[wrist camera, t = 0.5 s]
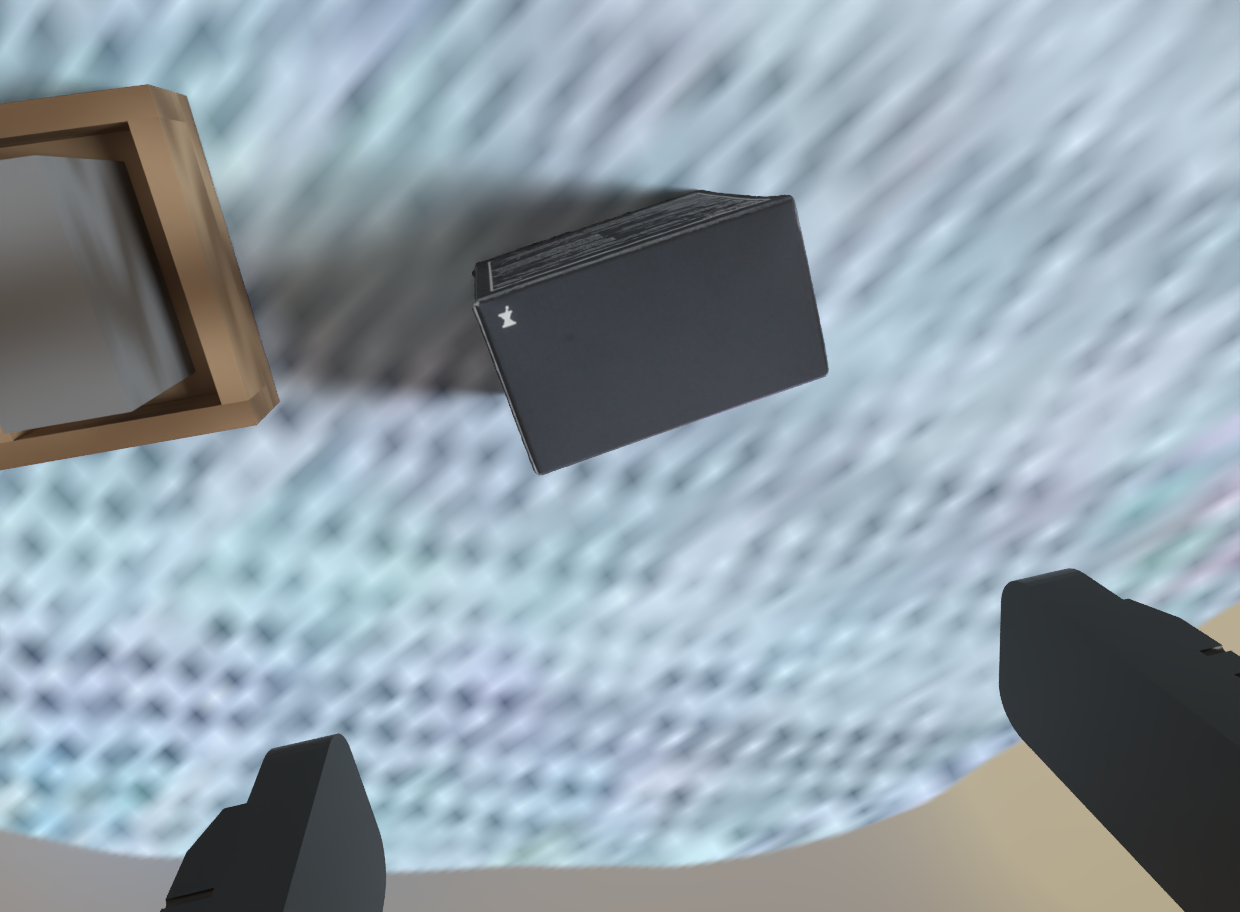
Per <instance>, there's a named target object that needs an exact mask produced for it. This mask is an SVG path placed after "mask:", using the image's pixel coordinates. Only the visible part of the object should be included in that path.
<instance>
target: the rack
mask: <svg viewBox="0 0 1240 912" xmlns="http://www.w3.org/2000/svg"><path fill="white" fill-rule="evenodd" d="M279 402H280V401H279V398H278V394H277V391H276V388H275V385H274V381H273V378H272V375H271V371H270V368H269V365H268V362H267V358H266V355H265V352H264V348H263V345H262V342H261V339H260V335H259V332H258V329H257V325H256V322H255V319H254V316H253V312H252V309H251V306H250V303H249V299H248V296H247V293H246V289H245V286H244V283H243V280H242V276H241V273H240V270H239V266H238V263H237V260H236V257H235V253H234V250H233V247H232V243H231V240H230V237H229V234H228V230H227V227H226V224H225V221H224V217H223V214H222V211H221V207H220V204H219V201H218V198H217V194H216V191H215V188H214V184H213V181H212V178H211V175H210V171H209V168H208V165H207V162H206V158H205V155H204V152H203V148H202V145H201V142H200V139H199V135H198V132H197V129H196V125H195V122H194V119H193V116H192V112H191V109H190V106H189V102H188V99H187V96H185V95H182V94H178V93H175V92H172V91H168V90H165V89H162V88H159V87H155V86H152V85H149V84H147V85H139V86H132V87H124V88H117V89H109V90H101V91H94V92H86V93H79V94H71V95H64V96H56V97H49V98H41V99H33V100H26V101H18V102H11V103H3V104H0V470H4V469H10V468H16V467H21V466H27V465H33V464H38V463H44V462H50V461H55V460H61V459H67V458H72V457H78V456H84V455H90V454H95V453H101V452H107V451H112V450H118V449H124V448H129V447H135V446H141V445H146V444H152V443H158V442H163V441H169V440H175V439H180V438H186V437H192V436H197V435H203V434H209V433H214V432H220V431H226V430H231V429H237V428H243V427H248V426H254V425H257V424H258V423H259V422H260V421H261V420H262V419H263V418H264V417H265V416H266V415H267V414H268V413H269V412H270V411H271V410H272V409H273V408H274V407H275V406H276V405H277V404H278V403H279Z"/></svg>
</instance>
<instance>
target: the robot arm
mask: <svg viewBox="0 0 1240 912" xmlns="http://www.w3.org/2000/svg"><path fill="white" fill-rule="evenodd" d="M999 690H1000V696H1001V700H1002V704H1003V707H1004V710H1005V712H1006V714H1007V717H1008V719H1009V721H1010V723H1011V724H1012V726H1013V728H1014V729H1015V731H1016V732H1017V733H1018V735H1019V736H1020V737H1021V738H1022V740H1023V741H1024V742H1025V743H1026V744H1027V745H1028V746H1029V747H1030V748H1031V749H1032V750H1033V751H1034V752H1035V753H1036V754H1037V755H1038V757H1039V758H1040V759H1041V760H1042V761H1043V762H1044V763H1045V764H1046V765H1047V766H1048V767H1049V768H1050V769H1051V770H1052V771H1053V772H1054V773H1055V775H1056V776H1057V777H1058V778H1059V779H1060V780H1061V781H1062V782H1063V783H1064V784H1065V785H1066V786H1067V787H1068V788H1069V789H1070V790H1071V792H1072V793H1073V794H1074V795H1075V796H1076V797H1077V798H1078V799H1079V800H1080V801H1081V802H1082V803H1083V804H1084V805H1085V806H1086V808H1087V809H1088V810H1089V811H1090V812H1091V813H1092V814H1093V815H1094V816H1095V817H1096V818H1097V819H1098V820H1099V821H1100V822H1101V823H1102V825H1103V826H1104V827H1105V828H1106V829H1107V830H1108V831H1109V832H1110V833H1111V834H1112V835H1113V836H1114V837H1115V838H1116V839H1117V840H1118V841H1119V842H1120V844H1121V845H1122V846H1123V847H1124V848H1125V849H1126V850H1127V851H1128V852H1129V853H1130V854H1131V855H1132V856H1133V857H1134V858H1135V860H1136V861H1137V862H1138V863H1139V864H1140V865H1141V866H1142V867H1143V868H1144V869H1145V870H1146V871H1147V872H1148V873H1149V874H1150V875H1151V876H1152V878H1153V879H1154V880H1155V881H1156V882H1157V883H1158V884H1159V885H1160V886H1161V887H1162V888H1163V889H1164V890H1165V891H1166V892H1167V893H1168V895H1169V896H1170V897H1171V898H1172V899H1173V900H1174V901H1175V902H1176V903H1177V904H1178V905H1179V906H1180V907H1181V908H1182V909H1183V910H1184V912H1240V656H1238V655H1237V654H1235V653H1233V652H1232V651H1228V652H1225V651H1224V649H1223V647H1222V645H1221V644H1220V643H1218V642H1217V641H1215V640H1213V639H1212V638H1210V637H1209V636H1207V635H1206V634H1204V633H1203V632H1201V631H1199V630H1198V629H1196V628H1195V627H1193V626H1192V625H1190V624H1189V623H1187V622H1185V621H1184V620H1182V619H1181V618H1179V617H1176V616H1173V615H1171V614H1168V613H1165V612H1163V611H1160V610H1157V609H1155V608H1152V607H1149V606H1147V605H1144V604H1141V603H1139V602H1136V601H1133V600H1131V599H1125V600H1123V599H1121V598H1120V597H1118V596H1117V595H1115V594H1114V593H1112V592H1111V591H1109V590H1108V589H1106V588H1105V587H1103V586H1102V585H1100V584H1099V583H1098V582H1096V581H1095V580H1093V579H1092V578H1090V577H1089V576H1087V575H1086V574H1084V573H1082V572H1081V571H1079V570H1076V569H1064V570H1059V571H1055V572H1050V573H1046V574H1042V575H1037V576H1033V577H1029V578H1024V579H1020V580H1016V581H1011V582H1009V583H1008V584H1007V585H1006V586H1005V588H1004V590H1003V593H1002V598H1001V625H1000V662H999ZM385 888H386V866H385V856H384V849H383V843H382V839H381V835H380V832H379V828H378V826H377V823H376V820H375V817H374V814H373V811H372V809H371V806H370V803H369V800H368V797H367V794H366V792H365V789H364V786H363V783H362V780H361V778H360V775H359V772H358V769H357V766H356V763H355V761H354V758H353V755H352V752H351V749H350V747H349V744H348V742H347V741H346V739H345V738H344V736H342V735H341V734H334V735H330V736H325V737H321V738H317V739H312V740H308V741H304V742H299V743H295V744H290V745H286V746H282V747H277V748H273V749H271V750H270V751H268V753H267V754H266V756H265V758H264V760H263V762H262V765H261V768H260V770H259V773H258V775H257V778H256V781H255V783H254V786H253V788H252V791H251V794H250V796H249V799H248V801H247V803H246V804H241V805H237V806H233V807H229V808H224V809H223V810H222V811H221V813H220V814H219V815H218V816H217V817H216V818H215V820H214V821H213V822H212V823H211V824H210V825H209V827H208V828H207V829H206V830H205V831H204V832H203V834H202V835H201V836H200V837H199V838H198V840H197V841H196V842H195V843H194V844H193V845H192V847H191V848H190V849H189V850H188V851H187V853H186V855H185V857H184V859H183V862H182V864H181V866H180V868H179V871H178V873H177V875H176V877H175V880H174V882H173V884H172V886H171V888H170V891H169V893H168V895H167V898H166V908H165V909H161V911H160V912H382V911H383V905H384V898H385Z"/></svg>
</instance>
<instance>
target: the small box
mask: <svg viewBox="0 0 1240 912" xmlns="http://www.w3.org/2000/svg"><path fill="white" fill-rule="evenodd" d="M472 275H473V276H474V277H475V302H474V303H473V306H472V310H473V312H474V314H475V316H476V319H477V321H478V323H479V326H480V329H481V332H482V334H483V336H484V339H485V342H486V345H487V347H488V350H489V353H490V355H491V358H492V360H493V363H494V366H495V369H496V372H497V374H498V377H499V379H500V382H501V384H502V386H503V389H504V391H505V395H506V397H507V400H508V403H509V406H510V408H511V411H512V414H513V417H514V419H515V422H516V425H517V427H518V430H519V432H520V435H521V438H522V441H523V444H524V446H525V449H526V451H527V453H528V457H529V460H530V462H531V464H532V467H533V470H534V471H535V473H536V474H538V475H544V474H547V473H550V472H552V471H555V470H558V469H561V468H564V467H567V466H570V465H573V464H575V463H578V462H581V461H584V460H587V459H589V458H592V457H595V456H598V455H601V454H603V453H606V452H609V451H612V450H615V449H618V448H620V447H623V446H626V445H629V444H632V443H635V442H637V441H640V440H643V439H646V438H649V437H652V436H654V435H657V434H660V433H663V432H666V431H669V430H672V429H674V428H677V427H680V426H683V425H686V424H689V423H691V422H694V421H697V420H700V419H703V418H706V417H709V416H712V415H715V414H718V413H721V412H723V411H726V410H729V409H732V408H735V407H738V406H741V405H744V404H747V403H749V402H752V401H755V400H758V399H761V398H764V397H767V396H770V395H773V394H776V393H779V392H782V391H785V390H788V389H791V388H794V387H796V386H799V385H802V384H805V383H808V382H811V381H814V380H817V379H820V378H823V377H825V376H826V375H828V371H829V368H828V361H827V355H826V349H825V343H824V338H823V333H822V328H821V325H820V319H819V314H818V309H817V304H816V298H815V294H814V289H813V284H812V281H811V275H810V270H809V265H808V260H807V255H806V251H805V246H804V241H803V237H802V232H801V228H800V223H799V218H798V213H797V208H796V204H795V201H794V198H793V197H792V196H790V195H780V196H769V197H763V196H762V197H761V196H757V197H756V196H750V195H736V194H724V193H716V192H711V191H705V190H699V191H696V192H694V193H690V194H687V195H684V196H680V197H677V198H673V199H671V200H668V201H665V202H662V203H658V204H656V205H652V206H649V207H647V208H644V209H640V210H637V211H634V212H628V213H626V214H624V215H622V216H618V217H615V218H613V219H609V220H606V221H603V222H600V223H598V224H594V225H591V226H588V227H584V228H582V229H579V230H576V231H572V232H566V233H564V234H562V235H559V236H557V237H555V236H554V237H553V238H551V239H548V240H545V241H541V242H538V243H534V244H532V245H529V246H526V247H523V248H520V249H518V250H515V251H512V252H510V253H506V254H504V255H501V256H498V257H495V258H492V259H489V260H487V261H482V262H479V263H477V264H476V266H475V268H474V271H473V272H472Z"/></svg>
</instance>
